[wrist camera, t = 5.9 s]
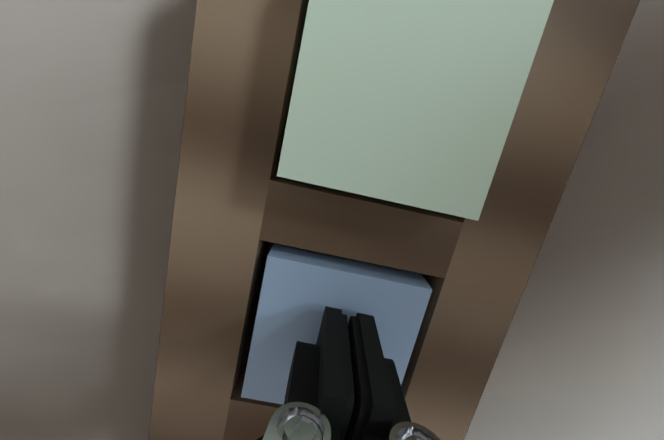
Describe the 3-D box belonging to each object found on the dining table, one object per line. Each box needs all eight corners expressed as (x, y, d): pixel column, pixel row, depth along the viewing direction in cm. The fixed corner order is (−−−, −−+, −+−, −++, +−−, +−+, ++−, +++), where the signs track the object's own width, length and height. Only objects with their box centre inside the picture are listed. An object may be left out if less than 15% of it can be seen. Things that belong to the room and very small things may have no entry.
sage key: (323, -11, 10) (322, -70, 7) (492, 34, 10) (555, -6, 8) (289, 166, 11) (276, 176, 9) (441, 200, 12) (478, 220, 9)
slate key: (280, 230, 13) (267, 255, 11) (410, 257, 14) (432, 289, 11) (258, 346, 15) (240, 397, 12) (377, 368, 15) (388, 422, 12)
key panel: (249, -50, 12) (212, -139, 8) (549, 30, 13) (646, -16, 9) (175, 475, 18) (134, 567, 14) (383, 507, 19) (398, 603, 15)
